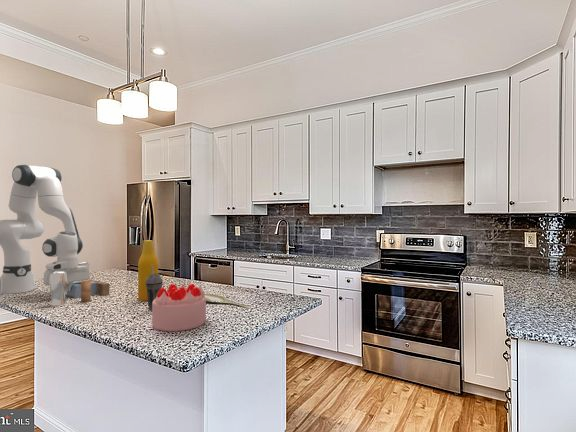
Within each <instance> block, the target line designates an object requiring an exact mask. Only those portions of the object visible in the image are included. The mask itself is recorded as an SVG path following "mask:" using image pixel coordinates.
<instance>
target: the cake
mask: <svg viewBox="0 0 576 432" xmlns="http://www.w3.org/2000/svg"><path fill="white" fill-rule="evenodd" d="M205 294H206V293H205V291H204V290H203V289H202V285H201V284H200V285H199V286H198V287H197V286H195V284H194V283H190V284H189V285H188V286H187V287H186V286H185V285H184V284H182V283H181V287H179V288H178V287H177V285H176V284H175V283H171V284H170V285H169V287H168V288H167V289H166V288H165V286H163V285H162V288H161V289H160V290H159V291H158V293H157V297H156V298H155V299H154V300H153V302H152V310H151V311H152V313H151V315H152V320H151V323H152V327H153V328H154V329H155V330H158V331H162V332H183V331H188V330H192V329H196V328H199V327H201V326H202V325H204V324H205V323H206V319H207V313H206V312H207V310H206V309H207V306H206V305H207V301H206V298H205V297H204V296H205Z"/></svg>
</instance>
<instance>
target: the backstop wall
mask: <svg viewBox="0 0 576 432" xmlns="http://www.w3.org/2000/svg"><path fill="white" fill-rule="evenodd" d="M90 280H91V281H92V282H96V283H97V294H96V295H99V296H103V297H105V296H109V295H110V283H108V282H104V281H100V280H95V279H90Z"/></svg>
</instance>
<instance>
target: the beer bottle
mask: <svg viewBox="0 0 576 432" xmlns="http://www.w3.org/2000/svg"><path fill="white" fill-rule="evenodd" d="M142 243H143V245H142V252H141V255H140V257H139V259H138V262H137V263H138V265H137V269H138V270H137V272H138V273H137V275H138V276H137V280H138V281H137V282H138V283H137V284H138V286H137V287H138V288H137V289H138V290H137V291H138V293H137V299H138V300H139V301H140V302H148V296H147V288H146V284H145V283H146V279H147V277H148V276H149V275H151V274H153V273H152V264H153V270H154V274H158V275H159V260H158V258H157V255H156V253H155V250H154V249H155V248H154V240H150V239H148V240H143V242H142Z"/></svg>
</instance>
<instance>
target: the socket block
mask: <svg viewBox="0 0 576 432" xmlns="http://www.w3.org/2000/svg"><path fill="white" fill-rule="evenodd" d="M68 286H69V284H68V283H67V288H68ZM93 295H98V294H97V283H96V282H92V281H91V296H93ZM66 296H68V297H72V298H75V299H76V298H81V281H76V282H73V285H72V286H71V288H70V291H68V292H66Z"/></svg>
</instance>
